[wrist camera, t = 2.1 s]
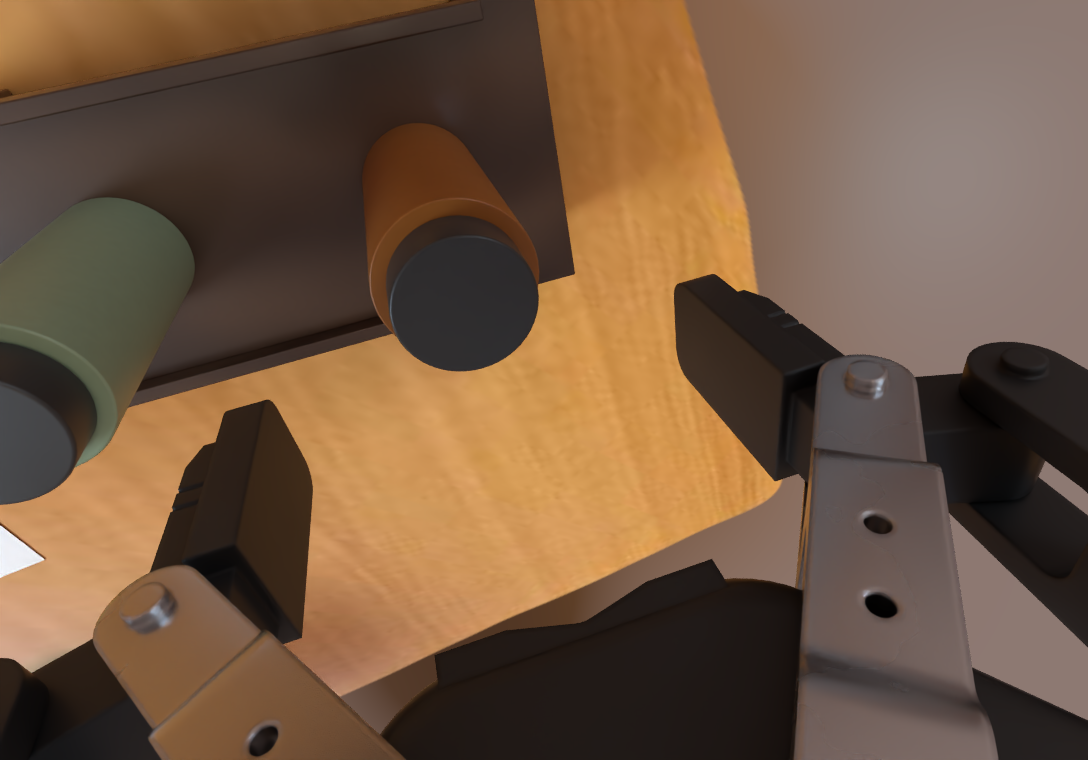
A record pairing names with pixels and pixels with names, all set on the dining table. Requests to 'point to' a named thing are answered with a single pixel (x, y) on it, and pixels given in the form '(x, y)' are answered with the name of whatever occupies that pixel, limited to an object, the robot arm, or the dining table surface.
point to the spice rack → (286, 169)
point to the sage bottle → (81, 334)
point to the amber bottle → (445, 252)
